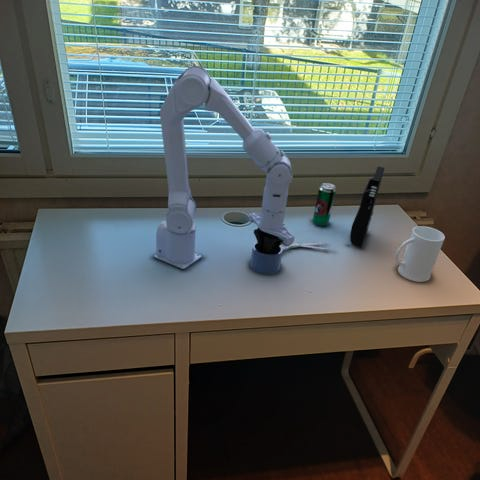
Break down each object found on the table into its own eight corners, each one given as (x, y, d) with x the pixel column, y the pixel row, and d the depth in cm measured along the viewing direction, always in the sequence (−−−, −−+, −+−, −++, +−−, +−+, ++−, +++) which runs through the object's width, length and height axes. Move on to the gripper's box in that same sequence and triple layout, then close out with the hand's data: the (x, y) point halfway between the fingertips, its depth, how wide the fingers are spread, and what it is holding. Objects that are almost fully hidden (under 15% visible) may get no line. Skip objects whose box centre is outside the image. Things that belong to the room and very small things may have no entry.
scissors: (259, 234, 135) (327, 236, 137) (259, 236, 135) (326, 238, 138) (264, 253, 126) (336, 254, 129) (264, 255, 127) (336, 257, 129)
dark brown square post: (260, 261, 122) (263, 239, 118) (265, 259, 123) (269, 237, 119) (265, 264, 121) (268, 242, 117) (270, 262, 122) (273, 240, 118)
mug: (395, 282, 122) (409, 241, 115) (381, 265, 129) (394, 225, 121) (436, 281, 124) (452, 241, 117) (420, 264, 131) (435, 225, 124)
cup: (245, 267, 121) (247, 248, 118) (259, 255, 127) (262, 237, 123) (271, 277, 118) (274, 258, 115) (284, 265, 124) (287, 246, 120)
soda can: (329, 227, 144) (338, 190, 137) (313, 226, 144) (320, 188, 137) (327, 220, 148) (335, 183, 141) (311, 218, 148) (318, 181, 141)
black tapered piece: (362, 249, 135) (381, 181, 123) (346, 245, 136) (364, 178, 124) (368, 232, 144) (386, 167, 132) (353, 228, 145) (370, 164, 133)
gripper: (306, 216, 111) (297, 266, 119) (266, 193, 119) (259, 241, 127) (285, 223, 107) (276, 273, 115) (244, 199, 115) (239, 248, 123)
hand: (266, 257), depth 121 cm, fingers closed on dark brown square post, 2 cm apart
